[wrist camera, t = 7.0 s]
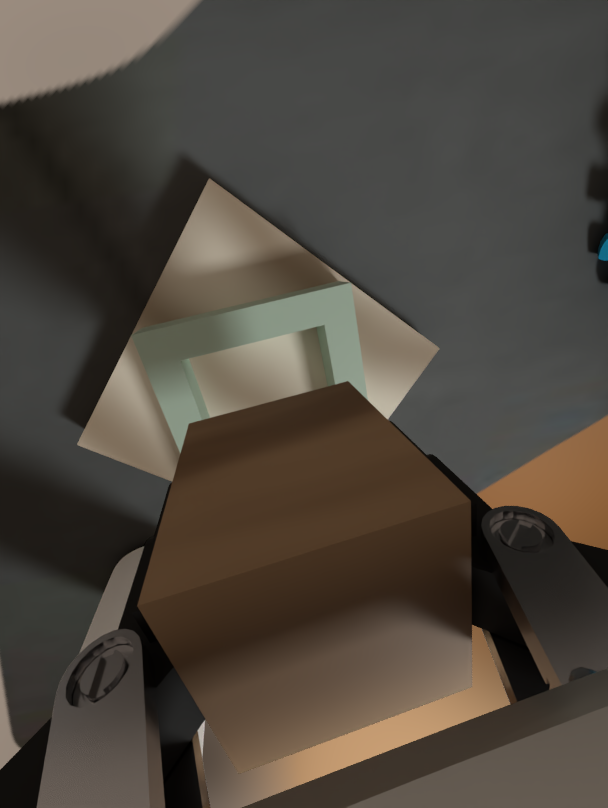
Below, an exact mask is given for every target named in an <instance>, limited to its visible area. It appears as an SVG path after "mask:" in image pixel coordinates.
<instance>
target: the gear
mask: <svg viewBox="0 0 608 808" xmlns="http://www.w3.org/2000/svg"><path fill="white" fill-rule="evenodd" d="M598 259H600V260H604V261H608V233H607V234H605V235H604V237H603V238H602V240H601V242H600V245H599V248H598Z"/></svg>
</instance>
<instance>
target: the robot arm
mask: <svg viewBox="0 0 608 808" xmlns="http://www.w3.org/2000/svg"><path fill="white" fill-rule="evenodd" d="M390 422H391V421H390ZM391 423H392V424H393V425H394V426H395V427H396V428H397V429H398V430H399V431H400V432H401V433H402V434H403V435H404V436H405V437H406V438H407V439H408V440H409V441H410V442H411V443H412V444H413V445H414V446H415V447H416V448H417V449H418V450H419V451H420V452H421V453H422V454H423V455H424V456H425V457H426V458H427V459H428V460H429V461H431V462H432V463H433V464H434V465H435V466H436V467H437V468H438V469H439V470H440V471H441V472H442V473H443V474H444V475H445V476H446V477H447V478H448V479H449V480H450V481H451V482H452V483H453V484H454V485H455V486H456V487H457V488H458V489H459V490H460V491H461V492H462V493H463V494H464V495H465V496H466V497H467V498H468V499H469V500H470V501H471V588H472V625H474V626H477V627H480V628H482V631H483V633H484V636H485V639H486V641H487V644H488V647H489V649H490V652H491V654H492V657H493V660H494V662H495V665H496V667H497V670H498V672H499V675H500V678H501V680H502V683H503V686H504V688H505V691H506V694H507V696H508V699H509V702H510V704H511V705H508V706H505V707H503V708H500V709H498V710H495V711H492V712H489V713H487V714H484V715H482V716H479V717H476V718H474V719H471V720H468V721H466V722H463V723H460V724H458V725H455V726H452V727H450V728H447V729H445V730H442V731H439V732H437V733H434V734H432V735H429V736H427V737H424V738H421V739H419V740H416V741H413V742H411V743H408V744H406V745H403V746H401V747H398V748H395V749H392V750H390V751H387V752H385V753H382V754H379V755H377V756H374V757H372V758H370V759H366V760H364V761H361V762H359V763H356V764H353V765H351V766H348V767H346V768H343V769H340V770H338V771H335V772H333V773H330V774H327V775H325V776H323V777H320V778H317V779H315V780H312V781H309V782H307V783H304V784H302V785H299V786H296V787H294V788H291V789H289V790H286V791H284V792H281V793H278V794H276V795H273V796H271V797H268V798H266V799H263V800H260V801H258V802H255V803H253V804H250V805H248V806H245V807H242V808H608V550H605V549H601V548H597V547H593V546H589V545H585V544H581V543H576V542H572V541H570V540H569V539H568V537H567V536H566V535H565V533H564V532H563V531H562V530H561V528H560V527H559V526H557V524H556V523H555V522H554V521H552V520H551V519H550V518H548V517H547V516H545V515H543V514H542V513H540V512H537V511H534V510H532V509H529V508H524V507H519V506H502V507H498V508H494V509H492V508H491V507H490V506H488V505H487V504H486V503H485V502H484V501H483V500H482V499H481V498H480V497H479V496H478V495H477V494H476V493H474V492H473V491H472V490H471V489H470V488H469V487H468V486H467V485H466V484H465V483H464V482H463V481H462V480H460V479H459V478H458V477H457V476H456V475H455V474H454V473H453V472H452V471H451V470H450V469H449V468H448V467H446V466H445V465H444V464H443V463H442V462H441V461H440V460H439V459H438V458H437V457H435V456H434V455H431V454H429V455H426V454H425V453H424V452H423V451H422V450H421V449H420V448H419V447H418V446H417V445H416V444H415V443H413V442H412V441H411V440H410V439H409V438H408V437H407V436H406V435H405V434H404V433H403V432H402V431H401V430H400V429H399V428H398V427H397V426H396V425H395V424H394V423H393V422H391ZM171 485H172V483H171V484H170V485H169V487H168V491H167V494H166V498H165V501H164V504H163V508H162V511H161V514H160V518H159V521H158V525H157V528H156V531H155V535H154V537H150V538H149V539H148V540H147V541H146V543H145V546H144V549H143V552H142V555H141V558H140V561H139V565H138V568H137V571H136V574H135V577H134V580H133V583H132V587H131V590H130V593H129V596H128V599H127V602H126V605H125V609H124V612H123V615H122V618H121V621H120V624H119V627H118V630H114V631H111V632H109V633H107V634H104V635H102V636H101V637H99V638H98V639H96V640H95V641H93V642H92V643H90V644H89V645H88V646H87V647H86V648H85V649H84V650H83V651H82V652H80V653H79V654H78V656H77V657H76V658H75V659H74V661H73V662H72V663H71V664H70V666H69V667H68V668H67V670H66V672H65V674H64V675H63V677H62V679H61V681H60V683H59V687H58V690H57V693H56V697H55V703H54V709H53V714H52V718H51V719H50V720H49V721H48V722H47V723H46V724H45V725H44V726H43V727H42V728H41V729H40V730H39V731H38V732H37V733H36V734H35V735H34V736H33V737H32V738H31V739H30V740H29V741H28V742H27V743H26V744H25V745H24V746H23V747H22V748H21V749H20V750H19V752H17V753H16V754H15V755H14V756H13V758H11V759H10V760H9V762H8V763H7V764H6V765H5V766H4V767H3V768H2V769H1V770H0V808H211V807H210V801H209V796H208V789H207V784H206V777H205V771H204V765H203V759H202V753H201V747H200V741H199V735H198V729H199V728H200V726H201V725H202V723H203V722H204V720H205V717H204V716H203V714H202V712H201V711H200V709H199V707H198V706H197V704H196V702H195V701H194V699H193V698H192V696H191V694H190V693H189V691H188V689H187V688H186V686H185V684H184V683H183V681H182V679H181V678H180V676H179V674H178V673H177V671H176V669H175V668H174V666H173V664H172V663H171V661H170V659H169V658H168V656H167V655H166V653H165V651H164V650H163V648H162V646H161V645H160V643H159V641H158V640H157V638H156V636H155V635H154V633H153V631H152V630H151V628H150V626H149V625H148V623H147V621H146V620H145V618H144V616H143V615H142V613H141V611H140V610H139V608H138V607H137V605H138V602H139V598H140V594H141V591H142V587H143V584H144V580H145V577H146V573H147V570H148V566H149V563H150V559H151V556H152V552H153V549H154V545H155V542H156V538H157V534H158V531H159V527H160V524H161V520H162V517H163V513H164V510H165V506H166V503H167V499H168V496H169V492H170V489H171Z"/></svg>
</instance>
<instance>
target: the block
mask: <svg viewBox="0 0 608 808" xmlns="http://www.w3.org/2000/svg"><path fill="white" fill-rule="evenodd" d="M137 607H138V608H139V610H140V611H141V613H142V615H143V616H144V618H145V620H146V621H147V623H148V625H149V626H150V628H151V630H152V631H153V633H154V635H155V636H156V638H157V640H158V641H159V643H160V645H161V646H162V648H163V650H164V651H165V653H166V655H167V656H168V658H169V659H170V661H171V663H172V664H173V666H174V668H175V669H176V671H177V673H178V674H179V676H180V678H181V679H182V681H183V683H184V684H185V686H186V688H187V689H188V691H189V693H190V694H191V696H192V698H193V699H194V701H195V702H196V704H197V706H198V707H199V709H200V711H201V712H202V714H203V716H204V717H205V719H206V721H207V722H208V724H209V726H210V727H211V729H212V731H213V732H214V734H215V736H216V737H217V739H218V741H219V742H220V744H221V746H222V747H223V749H224V750H225V752H226V754H227V755H228V757H229V759H230V760H231V762H232V764H233V765H234V767H235V769H236V770H237V772H238V774H241V773H243V772H246V771H249V770H251V769H254V768H256V767H259V766H262V765H265V764H267V763H270V762H273V761H276V760H278V759H281V758H284V757H286V756H289V755H292V754H294V753H297V752H300V751H302V750H305V749H308V748H310V747H313V746H316V745H318V744H321V743H323V742H326V741H329V740H332V739H334V738H337V737H339V736H342V735H345V734H348V733H350V732H353V731H356V730H358V729H361V728H364V727H366V726H369V725H372V724H374V723H377V722H380V721H383V720H385V719H388V718H390V717H393V716H396V715H398V714H401V713H404V712H406V711H409V710H412V709H415V708H417V707H420V706H423V705H425V704H428V703H431V702H433V701H436V700H439V699H441V698H444V697H447V696H449V695H452V694H454V693H457V692H460V691H463V690H465V689H468V688H471V687H472V588H471V501H470V500H469V499H468V498H467V497H466V496H465V495H464V494H463V493H462V492H461V491H460V490H459V489H458V488H457V487H456V486H455V485H454V484H453V483H452V482H451V481H450V480H449V479H448V478H447V477H446V476H445V475H444V474H443V473H442V472H441V471H440V470H439V469H438V468H437V467H436V466H435V465H434V464H433V463H432V462H431V461H429V460H428V459H427V458H426V457H425V456H424V455H423V454H422V453H421V452H420V451H419V450H418V449H417V448H416V447H415V446H414V445H413V444H412V443H411V442H410V441H409V440H408V439H407V438H406V437H405V436H404V435H403V434H402V433H401V432H400V431H399V430H398V429H397V428H396V427H395V426H394V425H393V424H392V423H391V422H390V421H389V420H388V419H386V418H385V417H384V416H383V415H382V414H381V413H380V412H379V411H378V410H377V409H376V408H375V407H374V406H373V405H372V404H371V403H370V402H369V401H368V400H367V399H366V398H365V397H364V396H363V395H362V394H361V393H360V392H359V391H358V390H357V389H356V388H355V387H354V386H353V385H352V384H351V383H350V382H349V381H346V382H343V383H339V384H335V385H331V386H328V387H324V388H320V389H316V390H313V391H309V392H305V393H301V394H298V395H294V396H290V397H286V398H283V399H279V400H275V401H271V402H268V403H264V404H260V405H256V406H253V407H249V408H245V409H242V410H238V411H234V412H230V413H227V414H223V415H219V416H215V417H212V418H208V419H204V420H200V421H197V422H193V423H189V425H188V429H187V432H186V436H185V439H184V443H183V446H182V450H181V453H180V457H179V460H178V464H177V467H176V471H175V474H174V478H173V481H172V485H171V489H170V492H169V496H168V499H167V503H166V506H165V510H164V513H163V517H162V520H161V524H160V527H159V531H158V534H157V538H156V542H155V545H154V549H153V552H152V556H151V559H150V563H149V566H148V570H147V573H146V577H145V580H144V584H143V587H142V591H141V594H140V598H139V602H138V605H137Z"/></svg>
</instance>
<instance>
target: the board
mask: <svg viewBox="0 0 608 808" xmlns="http://www.w3.org/2000/svg"><path fill="white" fill-rule="evenodd" d="M336 281H342V282H349V281H348V280H346V279H345V278H344V277H342V276H341V275H340V274H338V273H337V272H335V271H334V270H333V269H331V268H330V267H329V266H327V265H326V264H325V263H323V262H322V261H321V260H319V259H318V258H317V257H315V256H314V255H312V254H311V253H310V252H308V251H307V250H306V249H304V248H303V247H302V246H300V245H299V244H298V243H296V242H295V241H294V240H292V239H291V238H289V237H288V236H287V235H285V234H284V233H283V232H281V231H280V230H279V229H277V228H276V227H275V226H273V225H272V224H271V223H269V222H268V221H266V220H265V219H264V218H262V217H261V216H260V215H258V214H257V213H256V212H254V211H253V210H252V209H250V208H249V207H248V206H246V205H245V204H243V203H242V202H241V201H239V200H238V199H237V198H235V197H234V196H233V195H231V194H230V193H229V192H227V191H226V190H225V189H223V188H222V187H220V186H219V185H218V184H216V183H215V182H214V181H212V180H211V179H210V178H209V180H208V182H207V184H206V186H205V188H204V190H203V192H202V194H201V196H200V198H199V200H198V202H197V204H196V206H195V208H194V210H193V212H192V214H191V216H190V218H189V220H188V222H187V224H186V226H185V228H184V230H183V232H182V234H181V236H180V238H179V240H178V242H177V244H176V246H175V248H174V250H173V252H172V254H171V256H170V258H169V260H168V262H167V264H166V266H165V268H164V270H163V272H162V274H161V277H160V279H159V281H158V283H157V285H156V287H155V289H154V291H153V293H152V295H151V297H150V299H149V301H148V303H147V305H146V307H145V309H144V311H143V313H142V315H141V317H140V319H139V321H138V323H137V325H136V327H135V329H134V331H133V333H132V334H134V333H135V332H137V331H138V330H140V329H141V328H143V327H147V326H151V325H156V324H160V323H164V322H168V321H172V320H177V319H181V318H185V317H189V316H193V315H198V314H202V313H206V312H210V311H215V310H219V309H223V308H227V307H231V306H236V305H240V304H244V303H248V302H252V301H257V300H261V299H265V298H269V297H273V296H278V295H282V294H286V293H290V292H294V291H299V290H303V289H307V288H311V287H315V286H320V285H324V284H328V283H332V282H336ZM351 285H352V292H353V299H354V306H355V313H356V320H357V327H358V334H359V341H360V348H361V355H362V362H363V369H364V376H365V383H366V390H367V397H368V401H369V402H370V403H371V404H372V405H373V406H374V407H375V408H376V409H377V410H378V411H379V412H380V413H381V414H382V415H383V416H384V417H385V418H386V419H388V418H389V417H390V416H391V414H392V413H393V412H394V410H395V409H396V407H397V406H398V405H399V403H400V402H401V401H402V399H403V398H404V396H405V395H406V394H407V392H408V391H409V390H410V388H411V387H412V385H413V384H414V383H415V381H416V380H417V379H418V377H419V376H420V375H421V373H422V372H423V370H424V369H425V368H426V366H427V365H428V364H429V362H430V361H431V359H432V358H433V357H434V355H435V354H436V353H437V351H438V350H439V348H438V347H437V346H436V345H434V344H433V343H432V342H430V341H429V340H428V339H426V338H425V337H423V336H422V335H421V334H419V333H418V332H417V331H415V330H414V329H413V328H411V327H410V326H409V325H407V324H406V323H404V322H403V321H402V320H400V319H399V318H398V317H396V316H395V315H394V314H392V313H391V312H390V311H388V310H387V309H386V308H384V307H383V306H381V305H380V304H379V303H377V302H376V301H375V300H373V299H372V298H371V297H369V296H368V295H367V294H365V293H364V292H363V291H361V290H360V289H358V288H357V287H356V286H354V285H353V284H352V283H351ZM189 360H190V363H191V366H192V368H193V371H194V374H195V377H196V380H197V382H198V385H199V388H200V391H201V394H202V396H203V399H204V402H205V405H206V408H207V410H208V413H209V416H210V418H212V417H215V416H219V415H223V414H227V413H230V412H234V411H238V410H242V409H245V408H249V407H253V406H256V405H260V404H264V403H268V402H271V401H275V400H279V399H283V398H286V397H290V396H294V395H298V394H301V393H305V392H309V391H313V390H316V389H320V388H324V387H328V386H327V380H326V375H325V370H324V365H323V360H322V354H321V349H320V344H319V339H318V334H317V328H316V327H314V328H310V329H306V330H302V331H298V332H294V333H290V334H286V335H282V336H278V337H274V338H270V339H266V340H262V341H258V342H254V343H250V344H246V345H242V346H238V347H234V348H230V349H226V350H222V351H218V352H214V353H210V354H206V355H202V356H198V357H194V358H190V359H189ZM77 445H79V446H81V447H84V448H87V449H89V450H92V451H94V452H97V453H100V454H102V455H105V456H107V457H110V458H113V459H115V460H118V461H120V462H123V463H126V464H128V465H131V466H133V467H136V468H139V469H141V470H144V471H146V472H149V473H152V474H154V475H157V476H159V477H162V478H165V479H167V480H170V481H173V478H174V474H175V471H176V467H177V464H178V460H179V457H180V452H179V449H178V447H177V445H176V442H175V440H174V437H173V435H172V433H171V430H170V428H169V425H168V423H167V421H166V418H165V416H164V413H163V411H162V409H161V406H160V404H159V401H158V399H157V397H156V394H155V392H154V389H153V387H152V385H151V382H150V380H149V377H148V375H147V373H146V370H145V368H144V365H143V363H142V361H141V358H140V356H139V353H138V351H137V349H136V346H135V344H134V341H133V339H132V337H130V339H129V341H128V343H127V345H126V347H125V349H124V351H123V353H122V355H121V357H120V359H119V361H118V363H117V365H116V367H115V369H114V371H113V373H112V375H111V377H110V379H109V381H108V383H107V385H106V387H105V389H104V391H103V393H102V395H101V397H100V399H99V401H98V403H97V405H96V407H95V410H94V412H93V414H92V416H91V418H90V420H89V422H88V424H87V426H86V428H85V430H84V432H83V434H82V436H81V438H80V440H79V442H78V444H77Z"/></svg>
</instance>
